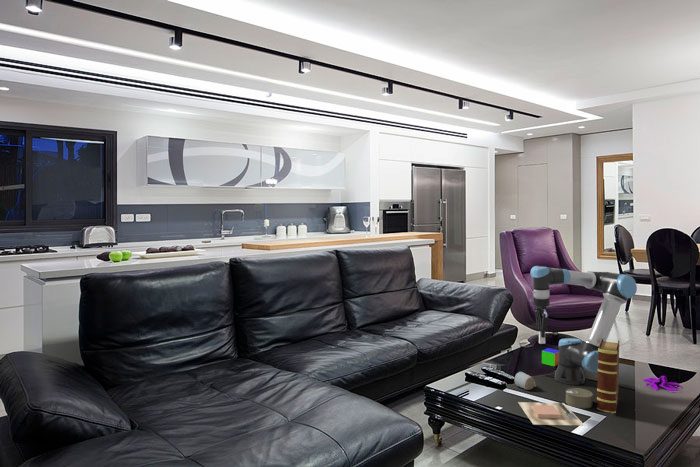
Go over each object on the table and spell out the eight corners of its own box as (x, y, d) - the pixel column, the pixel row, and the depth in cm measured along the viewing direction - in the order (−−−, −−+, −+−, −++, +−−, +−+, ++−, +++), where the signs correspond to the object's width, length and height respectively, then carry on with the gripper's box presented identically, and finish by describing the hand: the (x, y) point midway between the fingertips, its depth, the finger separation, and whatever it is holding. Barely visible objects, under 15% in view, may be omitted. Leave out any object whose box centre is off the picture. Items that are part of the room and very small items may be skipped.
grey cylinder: (525, 391, 251) (526, 377, 251) (513, 386, 258) (514, 372, 258) (540, 388, 256) (540, 374, 256) (528, 383, 263) (528, 369, 263)
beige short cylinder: (596, 412, 226) (596, 397, 226) (568, 410, 228) (569, 396, 228) (588, 401, 238) (588, 388, 238) (562, 400, 240) (562, 386, 240)
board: (563, 405, 233) (563, 403, 233) (584, 428, 210) (584, 425, 210) (517, 404, 235) (517, 402, 235) (533, 427, 211) (533, 424, 211)
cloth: (644, 377, 272) (644, 367, 272) (683, 385, 261) (684, 374, 260) (637, 389, 255) (638, 378, 254) (680, 398, 243) (680, 386, 243)
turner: (564, 404, 231) (564, 403, 231) (577, 419, 216) (577, 417, 215) (556, 404, 232) (556, 402, 232) (569, 419, 216) (569, 417, 216)
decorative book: (615, 416, 222) (617, 351, 220) (596, 412, 226) (597, 349, 224) (618, 399, 241) (619, 340, 239) (600, 396, 245) (601, 337, 243)
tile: (553, 405, 226) (560, 414, 216) (552, 409, 226) (560, 418, 216) (531, 405, 227) (538, 414, 217) (531, 409, 227) (538, 418, 217)
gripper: (529, 295, 250) (530, 339, 252) (538, 300, 237) (539, 347, 239) (543, 294, 250) (544, 339, 252) (554, 299, 237) (554, 346, 239)
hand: (542, 343), depth 245 cm, fingers closed
